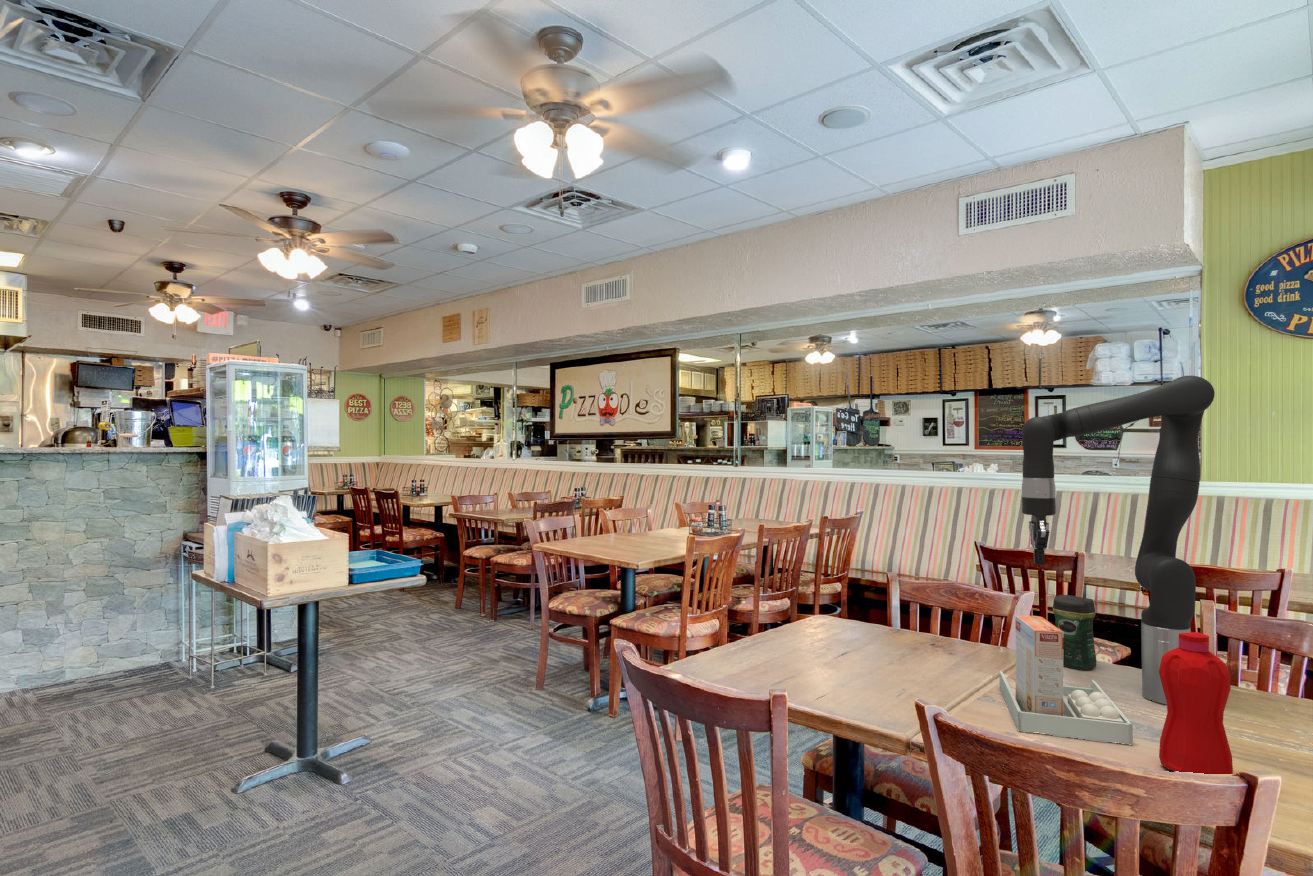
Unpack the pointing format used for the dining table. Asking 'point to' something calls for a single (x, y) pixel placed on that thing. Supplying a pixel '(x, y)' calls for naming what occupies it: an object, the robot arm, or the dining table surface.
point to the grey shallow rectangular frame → (1068, 719)
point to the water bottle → (1195, 708)
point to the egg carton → (1093, 706)
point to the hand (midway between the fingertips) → (1039, 564)
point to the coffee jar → (1076, 630)
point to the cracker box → (1039, 666)
